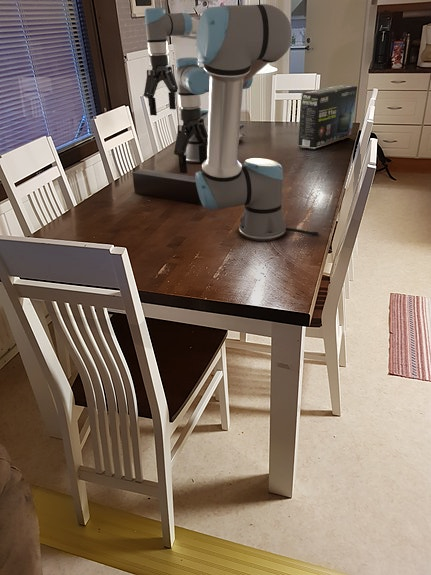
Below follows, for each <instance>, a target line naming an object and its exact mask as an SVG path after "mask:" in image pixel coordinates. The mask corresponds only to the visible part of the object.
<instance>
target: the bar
mask: <svg viewBox="0 0 431 575" xmlns="http://www.w3.org/2000/svg"><path fill="white" fill-rule="evenodd" d="M131 173H132V183H133V189H134V190H133V191H134V194H139V195H144V196H150V197H155V198H160V199H167V200H172V201H178V202H183V203H189V204H195V205H202V203H201V200H200V198H199V194H198V190H197V186H196V179H195V175H187V174H182V173H172V172H167V171H159V170H153V169H148V168H147V169H145V168H139V169H137V170H135V171H132V172H131Z"/></svg>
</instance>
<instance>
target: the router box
mask: <svg viewBox="0 0 431 575" xmlns="http://www.w3.org/2000/svg"><path fill="white" fill-rule="evenodd" d="M357 93H358V86H356V85H350V84H339V85H338V84H337V85H334V86H328V87H324V88H318V89H314V90H309V91H304V92H301V93H300V109H299V110H300V111H299V124H298V137H297V146H298V145H302V146H307V147H317V146H320V145H323V144H325V143H328V142H331V141H333V140H336V139H338V138H341V137H344V136H347V135H351V136H352V133H353V132H352V131H353V125H354V115H355V109H356V99H357ZM311 151H313V150H312V149H311Z"/></svg>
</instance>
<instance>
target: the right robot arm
mask: <svg viewBox="0 0 431 575" xmlns="http://www.w3.org/2000/svg"><path fill="white" fill-rule="evenodd" d="M198 20H199V23H198V28H197V36H196V40H195V45H196V46H195V47H196V56H197V57H193V56H192V57H179V58H177V59H176V61H175V62H176V63H175V65H176V66H175V67H176V68H175V72H176V80H177V81H176V83H177V86H178V90H177V95H178V106H179V107H180V108H179V109H178V111H179V112H178V113H179V119H180V120H181V122H182V125H181V124H178V125H177V134H176V138H175V143H174V144H175V145H174V150H173V154H174V155H175V156H177V157H178V165H179V174H184V175H187V174H188V162H187V161H186V155H184V154H185V151H186V148H187V145H188V142H189V139H190V138H191V137H192V136H193V135H195V137H196V138H197V140H198V142H199V143H200V145H199V161H200V163H199V164H201V170H198V171H196V172H195V174H194V177H195V179H196V186H197V190H198V194H199V198H200V200H201V203H202V204H201V205H202V207H203V208H204V209H206V210H208V211H211V210H212V211H213V210H220V209H228V208H234V207H241V206H244V211H243V213H242V216H241V217H240V220H239V226H238V232H239V235H240V236H241V237H242V238H244V239H247V240H250V241H254V242H271V241H277V240H279V239H281V238H283V237H285V235H286V234H287V231H288V232H293V233H298V234H299V233H300V234H305V235H311V236H319V231H311V230H304V229H299V228H292V227H287V223H286V221H285V216H284V214H283V210H282V200H283V183H284V174H283V173H284V172H283V171H284V170H283V166H282V164H280V163H279V162H278V161H275V160H272V159H268V158H259V157H253V158H248V159H245V160H244V163H243V165H242V163H241V162H240V161H239V160H238V154H239V142H240V141H239V131H240V130H241V127H240V125H241V119H242V118H241V116H242V106H243V105H242V103H243V92H244V91H243V90H247V89H249V88H251V87H252V84H253V80H254V76H255V75H256V74H257V73H258V72H260V71H261V70H262V69H263V68H264V67H266V66H267V65H268V64H271V63H275V62H277V61H279V60H280V59H281V58H283V56H285V55H286V53H287V52H288V51H289V49H290V48H291V44H292V41H293V28H292V24H291V22H290V20H289V18H288V16H287V15H286V14H285V13H284V12H283V10H281V9H280V8H279V7H276V6H275V5H272V4H267V3H262V4H261V3H260V4H234V5H233V4H230V5H229V4H228V5H225V4H221V5H220V6H210V7H207V8H205V9H204V10H203V11H202V13H201V15H200V16H199V19H198ZM200 64H202V65H203V66H200ZM206 93H208V110H209V121H208V134H207V131H206V128H205V125H204V119H203V118H201V109H202V108H201V106H202V103H201V102H202V100H201V95H202V96H203V95H205V94H206ZM185 133H186V134H185ZM205 138H206V139H205ZM206 145H208V158H207V159H206Z"/></svg>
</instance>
